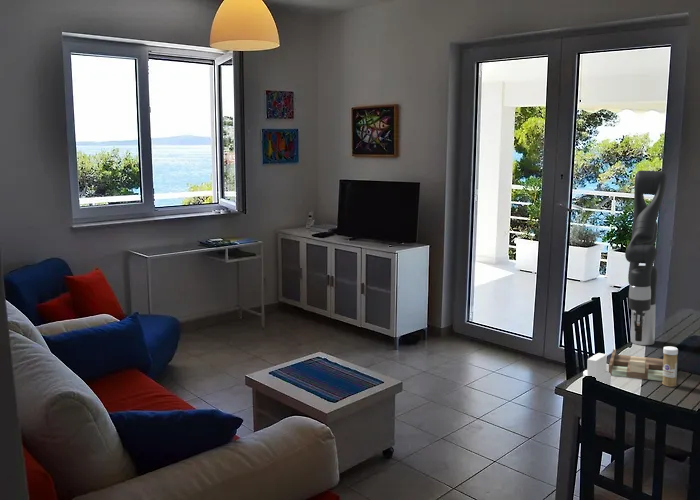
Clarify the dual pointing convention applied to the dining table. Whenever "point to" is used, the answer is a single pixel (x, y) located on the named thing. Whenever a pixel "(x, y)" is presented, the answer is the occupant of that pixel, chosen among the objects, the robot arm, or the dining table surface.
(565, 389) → the dining table surface
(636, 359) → the beech block
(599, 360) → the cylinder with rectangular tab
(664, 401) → the dining table surface
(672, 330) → the dining table surface
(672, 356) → the sprinkles bottle
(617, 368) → the trap deck
